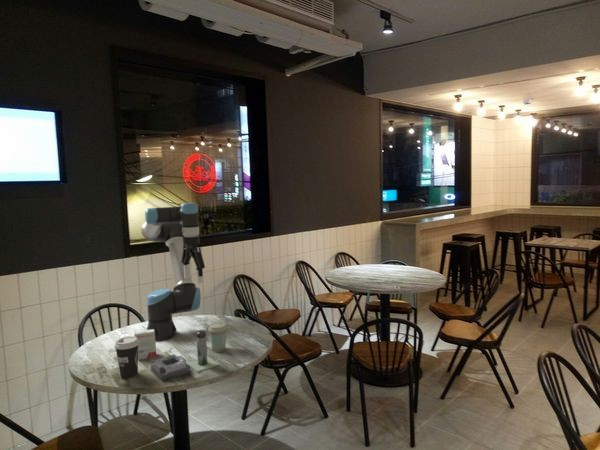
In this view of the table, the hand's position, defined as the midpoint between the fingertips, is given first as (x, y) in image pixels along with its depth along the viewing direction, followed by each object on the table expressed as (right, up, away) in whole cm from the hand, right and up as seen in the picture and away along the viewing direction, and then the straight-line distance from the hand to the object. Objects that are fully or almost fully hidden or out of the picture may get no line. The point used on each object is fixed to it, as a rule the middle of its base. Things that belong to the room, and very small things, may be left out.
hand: (193, 280), depth 201 cm
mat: (+9, -34, -19) cm, 39 cm away
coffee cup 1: (-20, -36, -26) cm, 48 cm away
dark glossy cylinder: (+9, -33, -19) cm, 39 cm away
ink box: (-19, -34, -8) cm, 40 cm away
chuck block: (-3, -35, -24) cm, 43 cm away
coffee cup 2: (+12, -32, -3) cm, 34 cm away
